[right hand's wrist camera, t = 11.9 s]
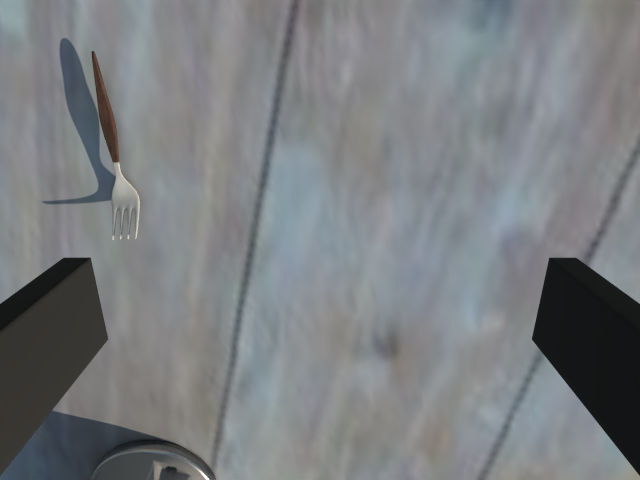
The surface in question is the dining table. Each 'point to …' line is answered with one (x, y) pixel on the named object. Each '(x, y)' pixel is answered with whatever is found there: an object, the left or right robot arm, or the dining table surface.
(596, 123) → the dining table surface
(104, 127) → the fork
